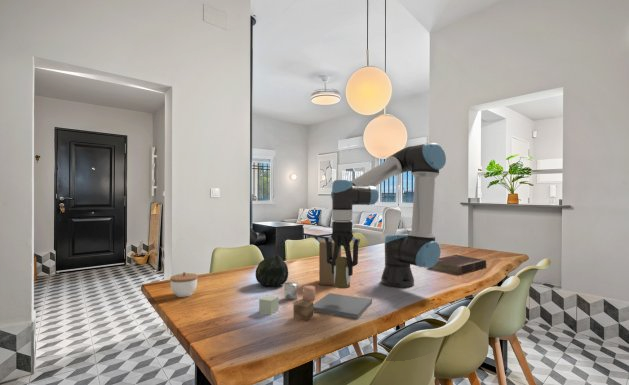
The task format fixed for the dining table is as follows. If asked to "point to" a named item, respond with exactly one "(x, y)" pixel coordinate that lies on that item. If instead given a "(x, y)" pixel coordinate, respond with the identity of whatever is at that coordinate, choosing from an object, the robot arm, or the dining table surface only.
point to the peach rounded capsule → (308, 293)
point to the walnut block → (303, 310)
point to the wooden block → (326, 264)
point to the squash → (272, 271)
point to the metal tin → (291, 291)
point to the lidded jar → (184, 284)
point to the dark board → (342, 305)
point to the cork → (341, 273)
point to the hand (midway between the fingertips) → (342, 283)
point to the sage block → (268, 304)
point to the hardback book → (458, 264)
